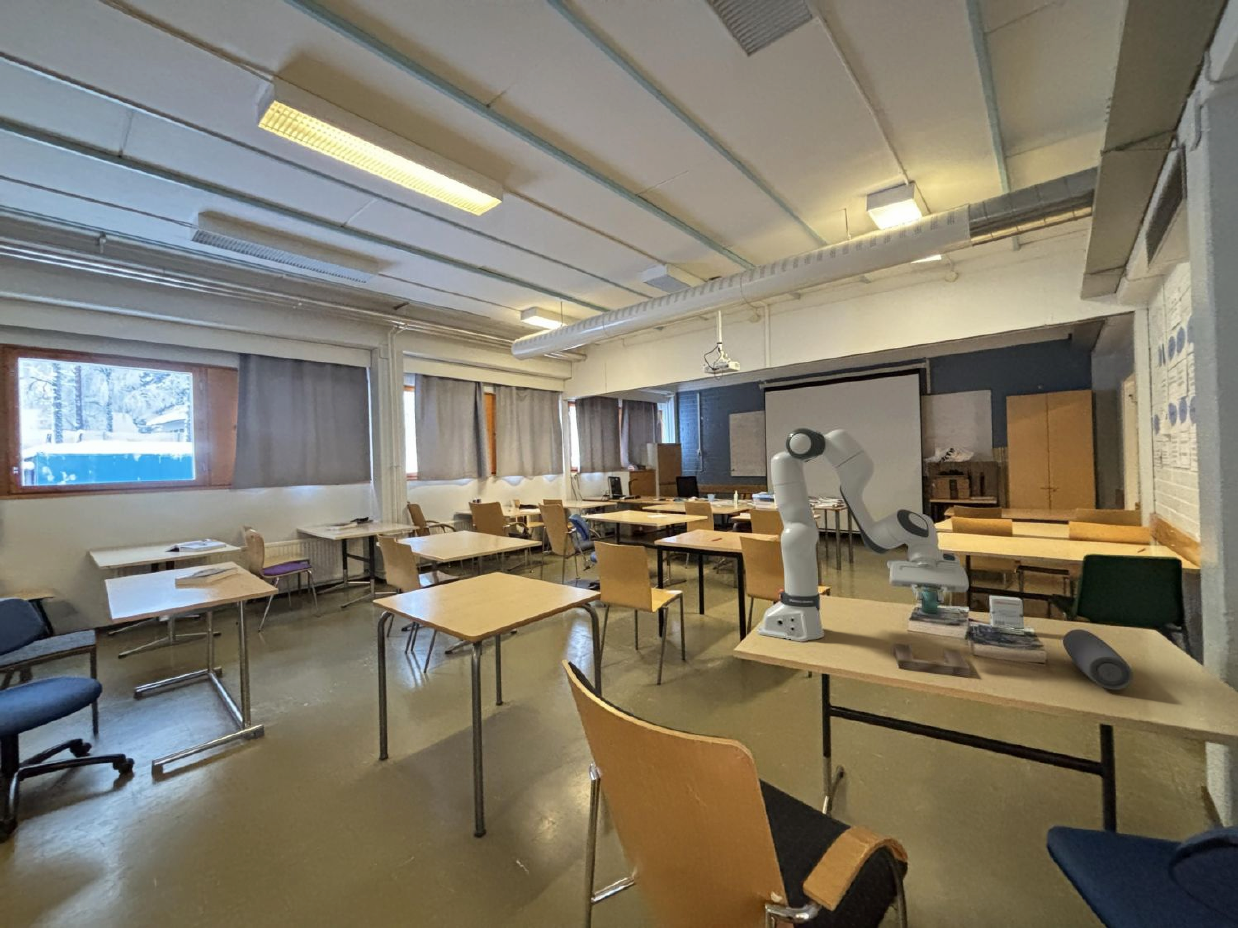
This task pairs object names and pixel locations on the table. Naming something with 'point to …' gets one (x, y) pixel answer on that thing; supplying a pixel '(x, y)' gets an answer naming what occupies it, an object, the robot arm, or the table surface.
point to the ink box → (1006, 612)
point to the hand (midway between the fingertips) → (930, 600)
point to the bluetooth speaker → (1097, 660)
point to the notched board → (951, 667)
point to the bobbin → (930, 602)
